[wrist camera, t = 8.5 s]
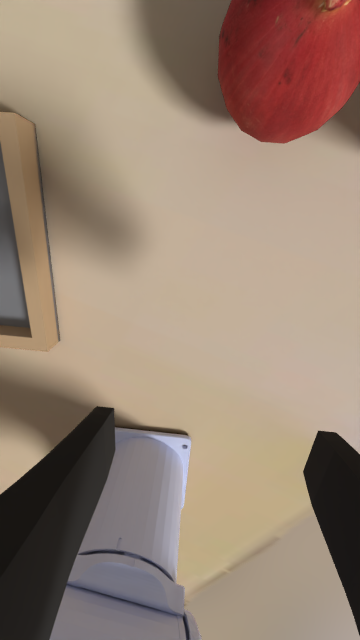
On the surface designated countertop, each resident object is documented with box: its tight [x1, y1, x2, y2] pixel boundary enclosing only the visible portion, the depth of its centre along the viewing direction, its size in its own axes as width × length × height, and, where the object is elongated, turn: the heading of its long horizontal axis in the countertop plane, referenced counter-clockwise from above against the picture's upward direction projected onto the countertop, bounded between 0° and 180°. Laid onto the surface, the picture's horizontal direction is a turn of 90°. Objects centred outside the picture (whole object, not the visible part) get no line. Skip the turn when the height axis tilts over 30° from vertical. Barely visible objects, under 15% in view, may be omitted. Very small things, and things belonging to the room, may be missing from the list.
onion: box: [218, 0, 360, 143], centre depth 10 cm, size 6×6×8 cm
